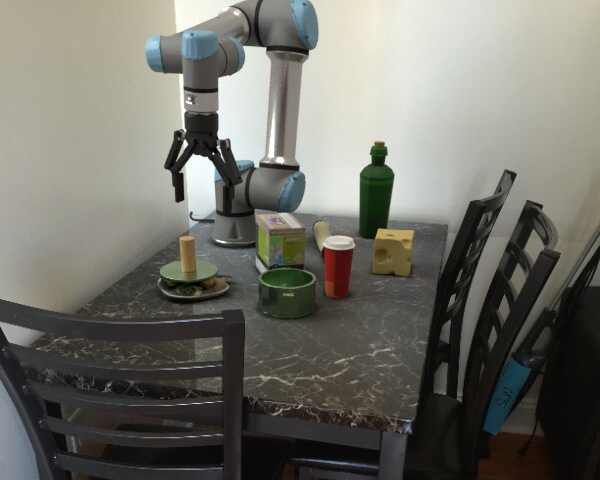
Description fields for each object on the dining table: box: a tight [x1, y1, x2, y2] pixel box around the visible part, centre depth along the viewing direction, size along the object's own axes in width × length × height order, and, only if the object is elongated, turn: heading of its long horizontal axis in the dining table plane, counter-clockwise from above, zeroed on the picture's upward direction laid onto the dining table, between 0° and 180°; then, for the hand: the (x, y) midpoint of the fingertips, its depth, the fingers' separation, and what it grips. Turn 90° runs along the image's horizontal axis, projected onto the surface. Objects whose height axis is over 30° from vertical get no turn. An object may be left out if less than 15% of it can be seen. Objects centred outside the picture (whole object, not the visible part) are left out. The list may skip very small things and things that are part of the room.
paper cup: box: [323, 235, 356, 299], centre depth 160 cm, size 8×8×14 cm
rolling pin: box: [311, 220, 332, 261], centre depth 194 cm, size 32×6×5 cm, turn 4°
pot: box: [258, 267, 317, 320], centre depth 154 cm, size 13×19×8 cm
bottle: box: [358, 140, 395, 239], centre depth 200 cm, size 11×11×28 cm
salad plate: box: [156, 273, 233, 303], centre depth 164 cm, size 19×18×5 cm
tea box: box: [255, 212, 306, 274], centre depth 171 cm, size 15×10×15 cm
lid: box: [159, 235, 219, 282], centre depth 160 cm, size 14×14×9 cm
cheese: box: [372, 228, 415, 277], centre depth 178 cm, size 10×11×10 cm
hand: (203, 207), depth 155 cm, fingers open, 13 cm apart
